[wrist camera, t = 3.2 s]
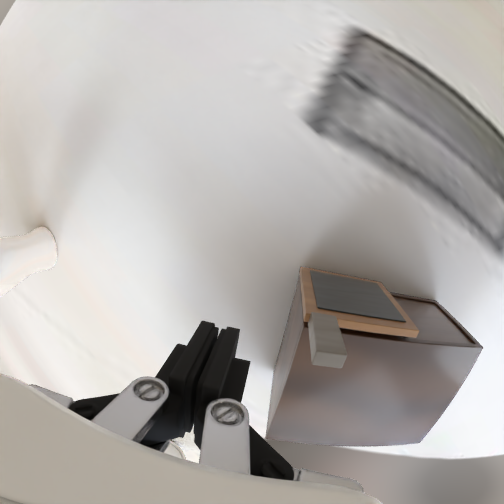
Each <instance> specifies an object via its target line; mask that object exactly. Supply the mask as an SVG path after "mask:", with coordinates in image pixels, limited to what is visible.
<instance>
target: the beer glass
mask: <svg viewBox="0 0 504 504" xmlns="http://www.w3.org/2000/svg"><path fill="white" fill-rule="evenodd" d="M57 255H58V252H57V245H56V241H55V239H54V237H53V235H52V233H51V232H50V231H49V230H48V229H47V228H46V227H38V228H36V229H34V230H32V231H30V232H28V233H26V234H24V235H19V236H8V237H0V297H2V296H4V295H5V294H6V293H8V292H9V291H11V290H12V289H13V288H14V287H16V286H17V285H18V284H19V283H21V282H22V281H23V280H24V279H26V278H27V277H29V276H30V275H32V274H34V273H36V272H40V271H46V270H50V269H52V268H53V267H54V266H55V264H56V262H57Z"/></svg>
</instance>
